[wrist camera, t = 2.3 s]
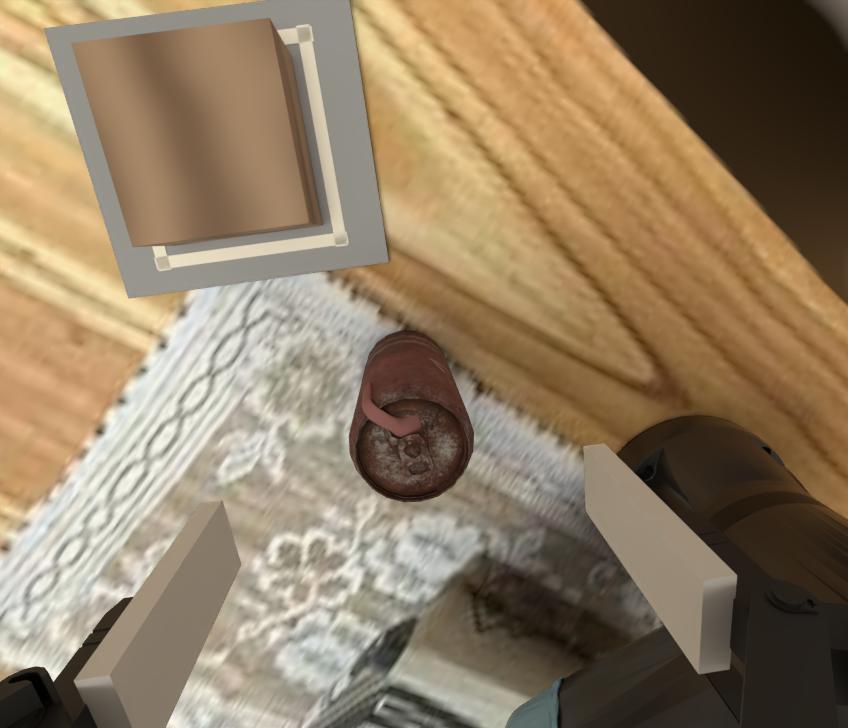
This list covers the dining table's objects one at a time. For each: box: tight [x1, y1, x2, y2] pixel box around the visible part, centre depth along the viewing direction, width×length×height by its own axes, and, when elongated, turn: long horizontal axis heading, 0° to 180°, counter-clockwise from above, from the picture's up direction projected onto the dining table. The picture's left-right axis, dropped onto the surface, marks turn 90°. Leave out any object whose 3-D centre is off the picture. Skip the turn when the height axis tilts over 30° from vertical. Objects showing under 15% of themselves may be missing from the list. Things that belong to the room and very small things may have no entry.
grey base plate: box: [44, 0, 389, 298], centre depth 29 cm, size 18×16×1 cm
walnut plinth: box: [71, 18, 323, 247], centre depth 26 cm, size 10×10×5 cm
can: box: [349, 331, 474, 502], centre depth 28 cm, size 6×6×14 cm
